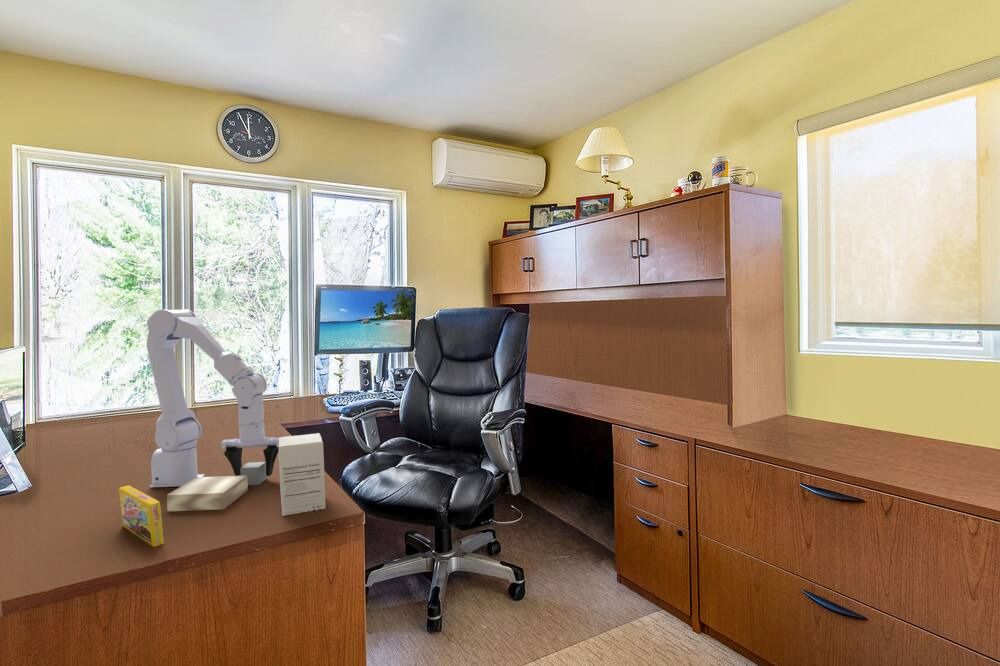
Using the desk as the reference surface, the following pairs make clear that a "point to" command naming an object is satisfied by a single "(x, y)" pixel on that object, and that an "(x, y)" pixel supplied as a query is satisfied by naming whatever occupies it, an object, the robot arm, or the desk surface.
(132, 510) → the candy box
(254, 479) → the slate cube
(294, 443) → the supplement box
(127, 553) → the desk surface
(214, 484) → the birch block
